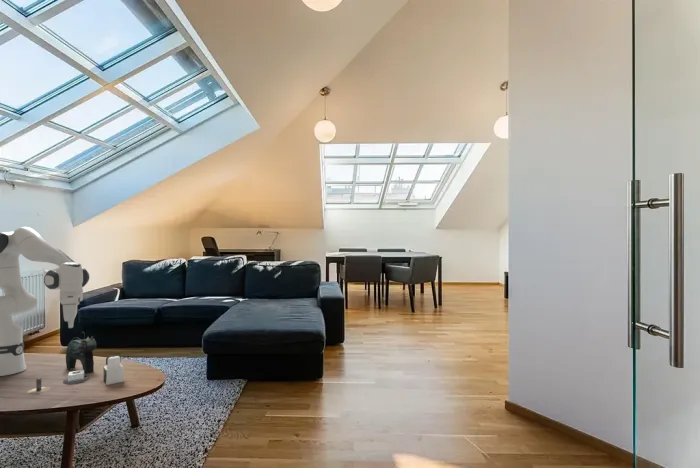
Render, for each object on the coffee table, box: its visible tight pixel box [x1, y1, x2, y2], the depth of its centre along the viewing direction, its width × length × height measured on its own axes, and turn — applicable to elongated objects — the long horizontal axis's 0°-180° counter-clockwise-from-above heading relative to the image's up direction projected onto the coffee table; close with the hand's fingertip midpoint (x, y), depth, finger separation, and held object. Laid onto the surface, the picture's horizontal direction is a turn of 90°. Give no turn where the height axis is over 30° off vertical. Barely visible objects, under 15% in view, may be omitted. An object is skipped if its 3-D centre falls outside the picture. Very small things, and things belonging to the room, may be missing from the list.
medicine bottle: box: [103, 354, 124, 386], centre depth 189 cm, size 7×7×12 cm
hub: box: [62, 373, 90, 385], centre depth 188 cm, size 10×10×4 cm
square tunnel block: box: [67, 369, 85, 382], centre depth 189 cm, size 6×6×3 cm
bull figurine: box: [65, 331, 97, 374], centre depth 205 cm, size 20×6×20 cm, turn 64°
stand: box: [26, 377, 51, 395], centre depth 176 cm, size 8×8×6 cm
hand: (70, 327), depth 185 cm, fingers closed
